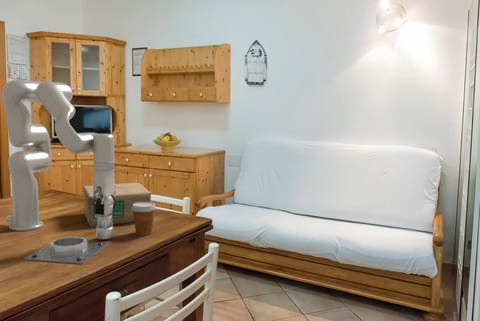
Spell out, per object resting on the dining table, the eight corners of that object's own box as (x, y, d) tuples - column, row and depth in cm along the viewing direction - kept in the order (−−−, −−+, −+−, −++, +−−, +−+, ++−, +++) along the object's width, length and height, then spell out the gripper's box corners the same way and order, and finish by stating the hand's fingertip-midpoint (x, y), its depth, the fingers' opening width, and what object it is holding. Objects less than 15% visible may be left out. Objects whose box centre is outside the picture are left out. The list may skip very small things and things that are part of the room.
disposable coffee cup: (131, 237, 166) (131, 207, 164) (132, 230, 175) (132, 201, 174) (155, 236, 168) (155, 206, 166) (155, 229, 177) (155, 201, 175)
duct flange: (24, 259, 139) (24, 249, 138) (57, 241, 159) (56, 231, 158) (82, 263, 137) (82, 253, 136) (108, 244, 156) (108, 235, 156)
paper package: (89, 227, 178) (89, 195, 176) (82, 213, 200) (82, 184, 199) (153, 221, 189) (153, 191, 188) (139, 208, 212) (139, 181, 211)
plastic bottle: (95, 237, 165) (94, 186, 162) (113, 235, 167) (113, 185, 165) (95, 242, 159) (95, 189, 156) (114, 240, 161) (114, 189, 159)
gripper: (104, 163, 168) (105, 205, 170) (83, 169, 151) (85, 216, 153) (122, 164, 167) (123, 206, 169) (104, 170, 150) (105, 217, 152)
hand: (105, 211), depth 161 cm, fingers open, 9 cm apart
